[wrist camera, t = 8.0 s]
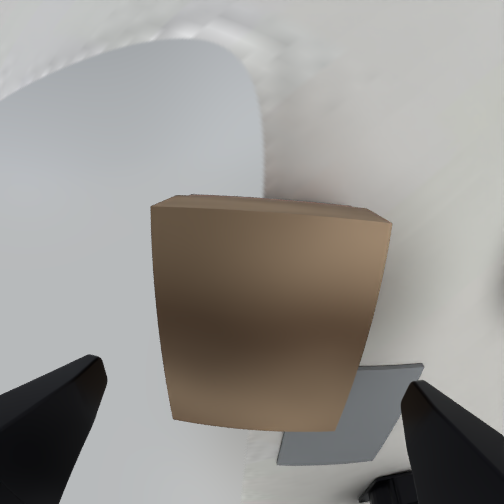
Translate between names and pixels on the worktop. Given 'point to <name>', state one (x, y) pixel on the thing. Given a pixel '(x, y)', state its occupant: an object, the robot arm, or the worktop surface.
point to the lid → (264, 307)
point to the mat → (355, 420)
